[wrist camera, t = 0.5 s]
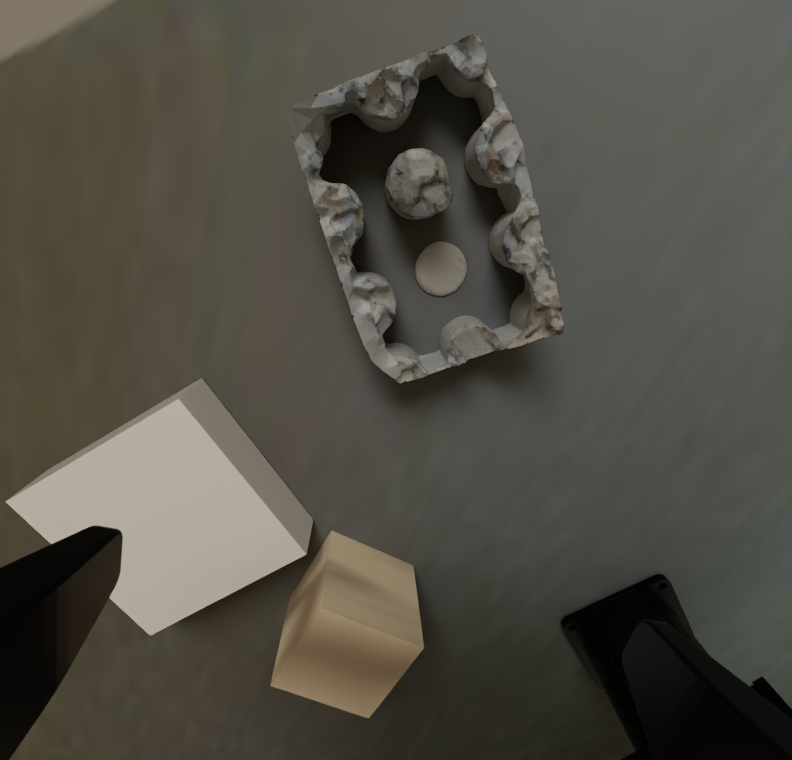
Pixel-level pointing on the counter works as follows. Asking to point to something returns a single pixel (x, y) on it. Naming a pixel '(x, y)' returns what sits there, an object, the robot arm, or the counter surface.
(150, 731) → the counter surface
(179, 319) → the counter surface
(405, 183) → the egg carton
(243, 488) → the base
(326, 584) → the cube
